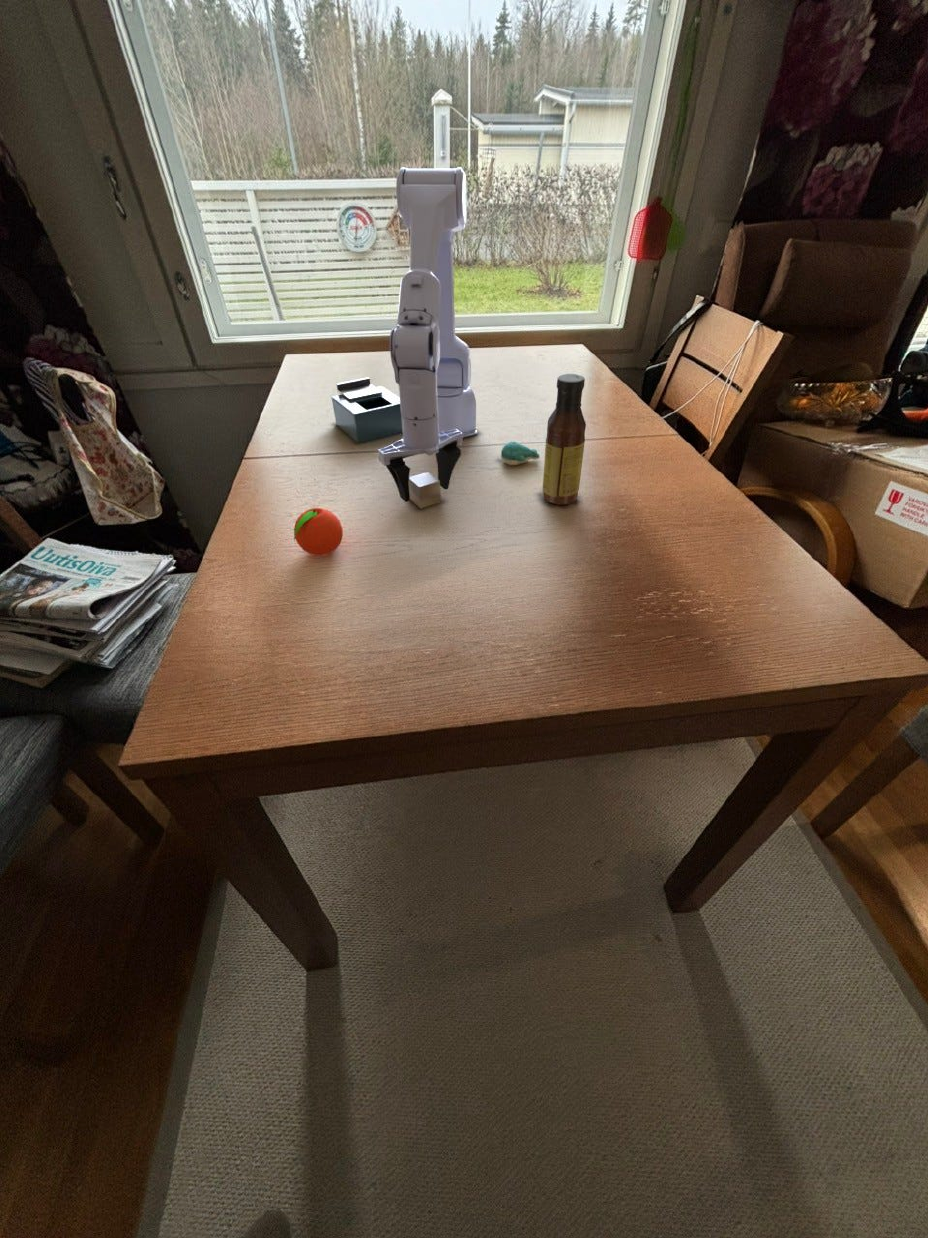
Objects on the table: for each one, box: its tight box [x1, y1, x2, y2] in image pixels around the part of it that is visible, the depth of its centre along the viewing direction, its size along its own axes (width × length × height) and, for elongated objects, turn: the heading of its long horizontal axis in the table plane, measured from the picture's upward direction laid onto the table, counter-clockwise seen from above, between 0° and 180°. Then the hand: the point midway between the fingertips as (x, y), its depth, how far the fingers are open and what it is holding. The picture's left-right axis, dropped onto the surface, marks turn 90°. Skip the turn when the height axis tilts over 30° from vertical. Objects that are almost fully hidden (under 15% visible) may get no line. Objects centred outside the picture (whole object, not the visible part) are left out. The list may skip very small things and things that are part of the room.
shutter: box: [335, 377, 382, 401], centre depth 109 cm, size 8×7×2 cm
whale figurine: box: [500, 441, 540, 466], centre depth 97 cm, size 6×7×4 cm
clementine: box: [293, 507, 344, 557], centre depth 74 cm, size 8×7×7 cm
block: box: [409, 471, 442, 509], centre depth 86 cm, size 4×4×4 cm
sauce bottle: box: [541, 373, 587, 506], centre depth 81 cm, size 7×6×20 cm
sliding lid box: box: [331, 385, 403, 444], centre depth 109 cm, size 12×12×6 cm
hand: (424, 492), depth 86 cm, fingers open, 7 cm apart
